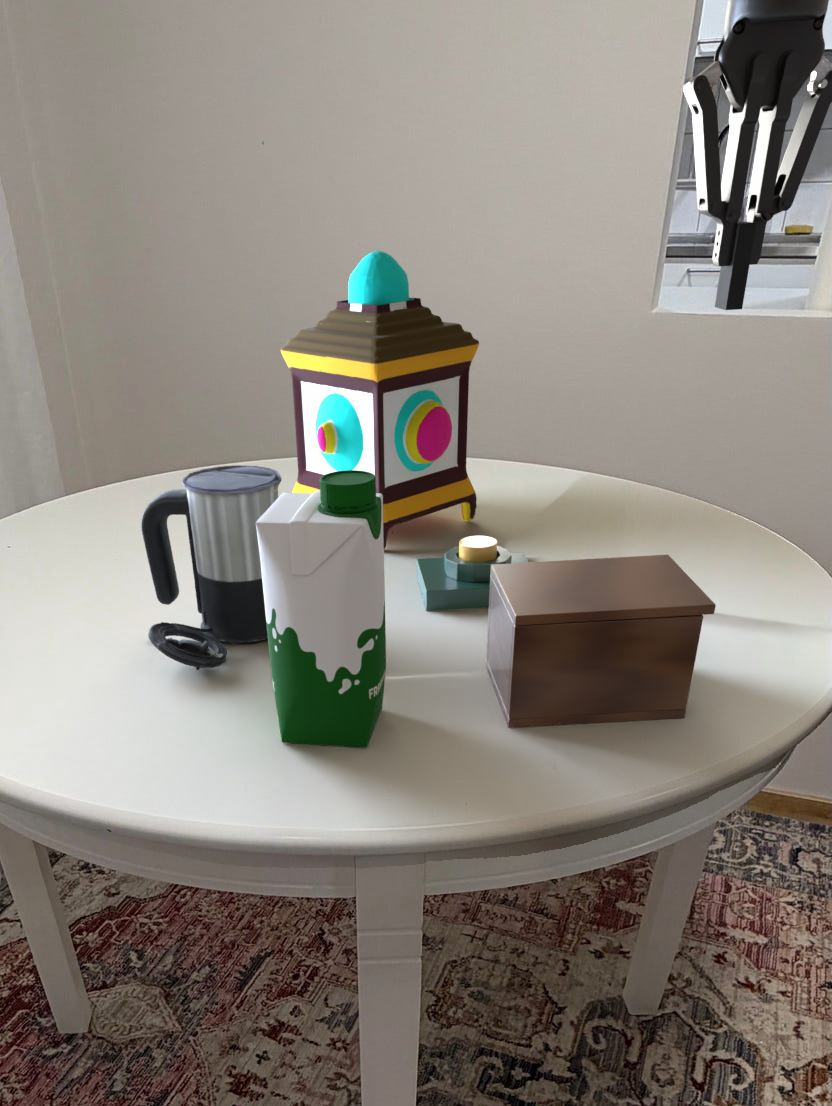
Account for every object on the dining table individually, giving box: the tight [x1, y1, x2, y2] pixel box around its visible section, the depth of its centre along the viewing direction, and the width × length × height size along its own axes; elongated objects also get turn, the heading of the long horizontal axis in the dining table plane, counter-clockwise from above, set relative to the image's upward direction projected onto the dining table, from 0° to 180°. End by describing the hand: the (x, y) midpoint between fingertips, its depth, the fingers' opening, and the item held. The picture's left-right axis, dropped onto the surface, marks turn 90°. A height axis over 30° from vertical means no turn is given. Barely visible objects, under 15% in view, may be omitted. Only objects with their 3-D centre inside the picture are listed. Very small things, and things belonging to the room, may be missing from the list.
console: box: [416, 545, 530, 612], centre depth 102 cm, size 12×10×4 cm
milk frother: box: [140, 464, 283, 671], centre depth 90 cm, size 14×16×15 cm
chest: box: [485, 574, 704, 729], centre depth 80 cm, size 15×12×9 cm
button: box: [458, 535, 499, 562], centre depth 100 cm, size 4×4×2 cm
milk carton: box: [256, 470, 387, 749], centre depth 74 cm, size 9×9×20 cm
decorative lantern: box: [280, 250, 480, 551], centre depth 115 cm, size 20×20×30 cm
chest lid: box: [490, 554, 717, 625], centre depth 77 cm, size 15×12×1 cm
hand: (728, 307), depth 87 cm, fingers closed
